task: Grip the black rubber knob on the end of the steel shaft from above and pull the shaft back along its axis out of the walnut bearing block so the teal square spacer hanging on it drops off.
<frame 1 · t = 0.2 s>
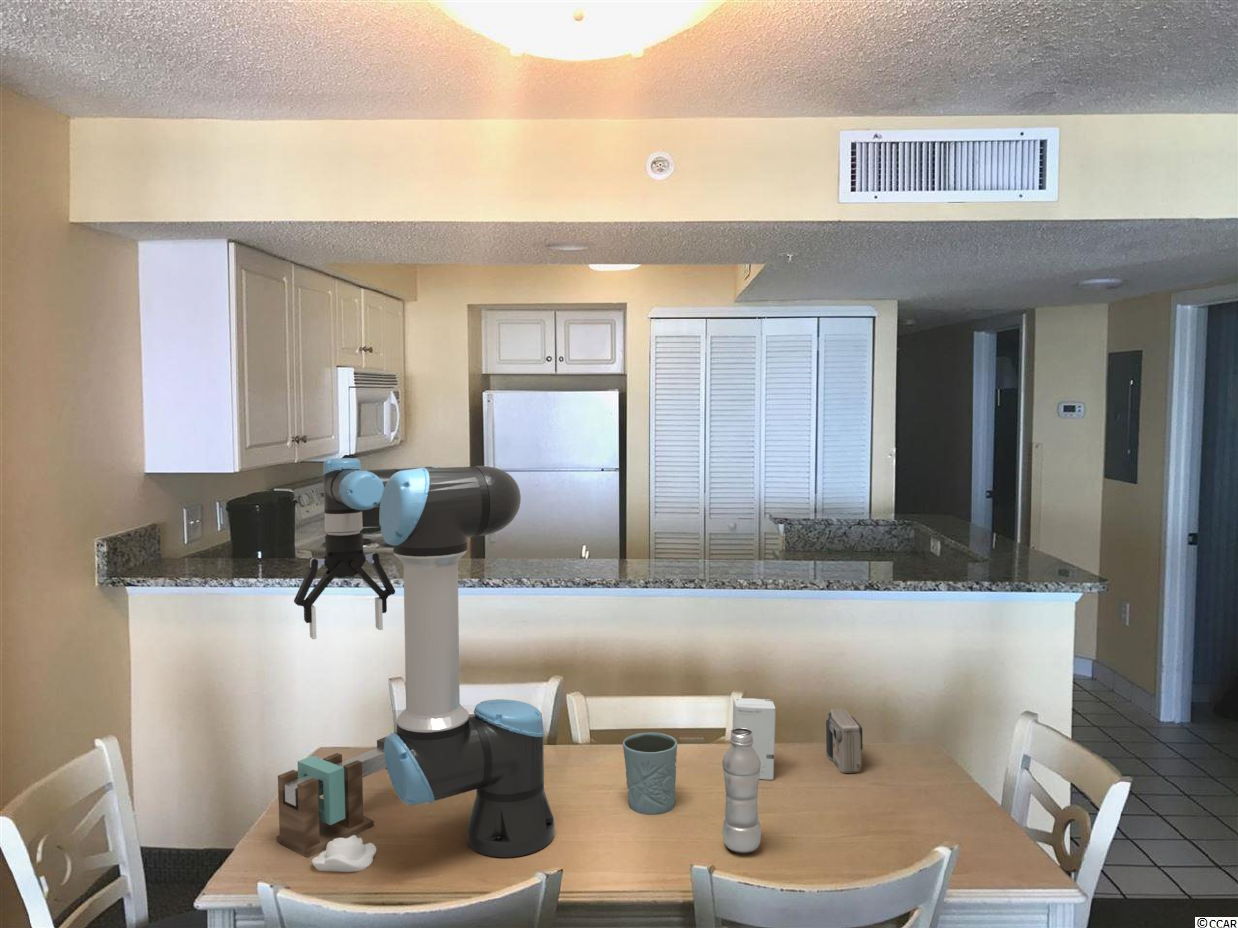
hand: (346, 633, 182), 28 cm above the table, tool pointing down, fingers open, 13 cm apart
shaft: (352, 769, 156), point 10 cm above the table, slide at 0.0 cm, touching spacer
spacer: (322, 814, 151), point 4 cm above the table, touching shaft
white cowboy hat: (344, 864, 143), on the table
bearing block: (322, 835, 151), on the table
plastic bottle: (741, 849, 146), on the table
drinking glass: (650, 805, 162), on the table
camera: (844, 764, 180), on the table
skincare box: (753, 774, 176), on the table
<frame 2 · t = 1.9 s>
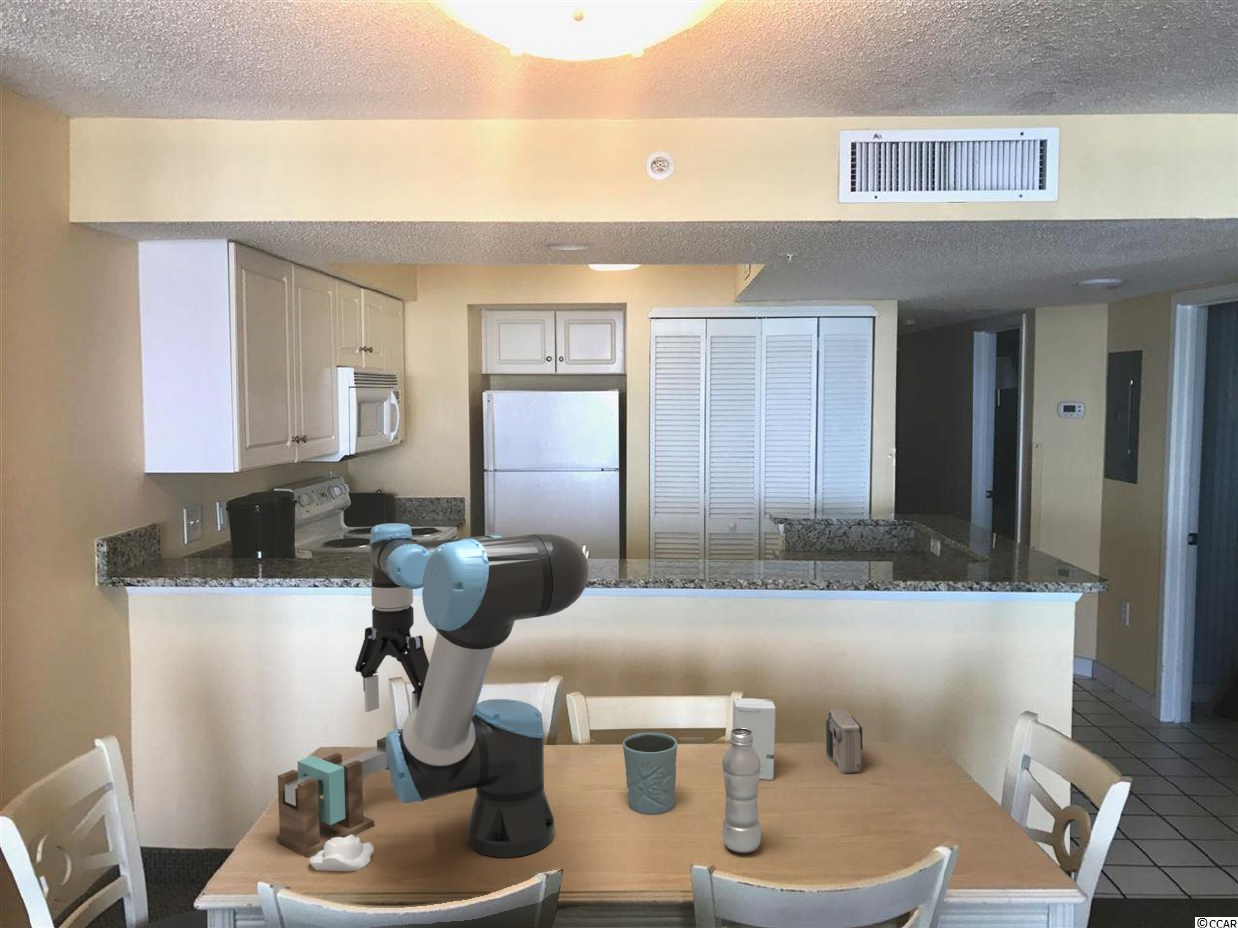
hand: (395, 717, 164), 16 cm above the table, tool pointing down, fingers open, 13 cm apart
nothing on the table moved.
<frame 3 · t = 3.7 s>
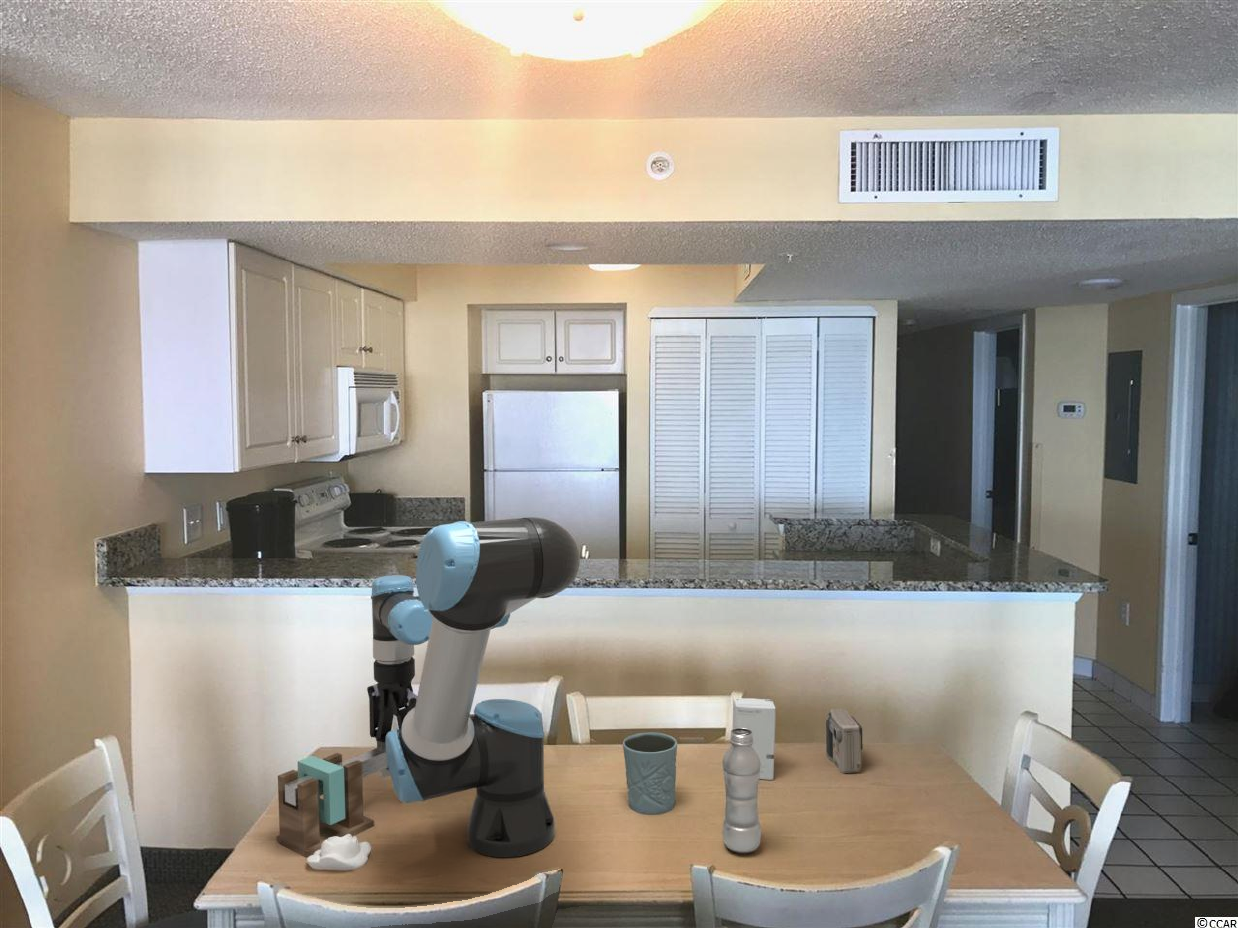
hand: (397, 778, 164), 4 cm above the table, tool pointing down, fingers closed on shaft, 5 cm apart
shaft: (352, 769, 156), point 10 cm above the table, slide at 0.0 cm, touching gripper, spacer
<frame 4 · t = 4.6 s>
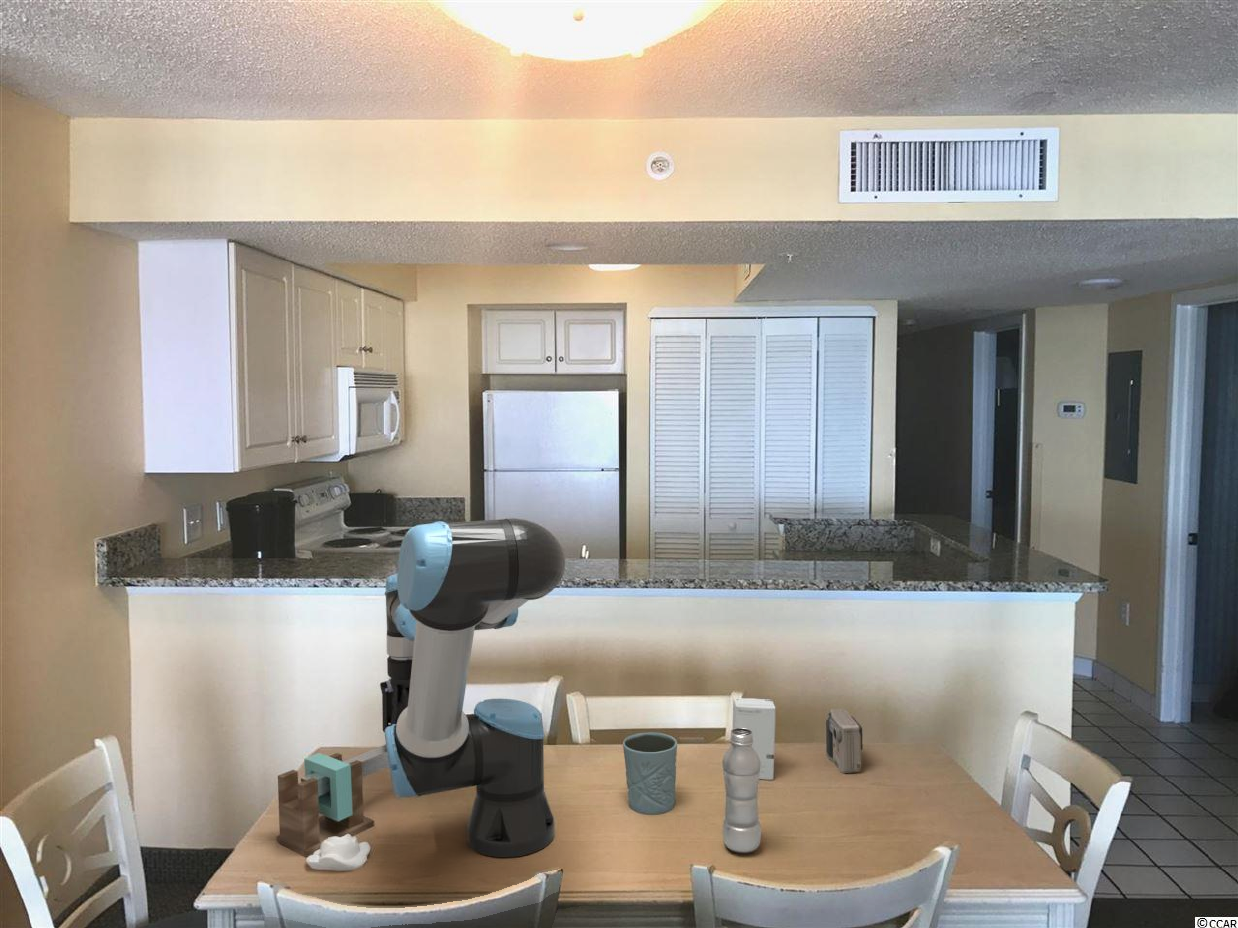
hand: (409, 773, 167), 4 cm above the table, tool pointing down, fingers closed on shaft, 5 cm apart
shaft: (366, 764, 159), point 9 cm above the table, slide at 3.1 cm, touching gripper
spacer: (329, 811, 152), point 4 cm above the table, touching bearing block
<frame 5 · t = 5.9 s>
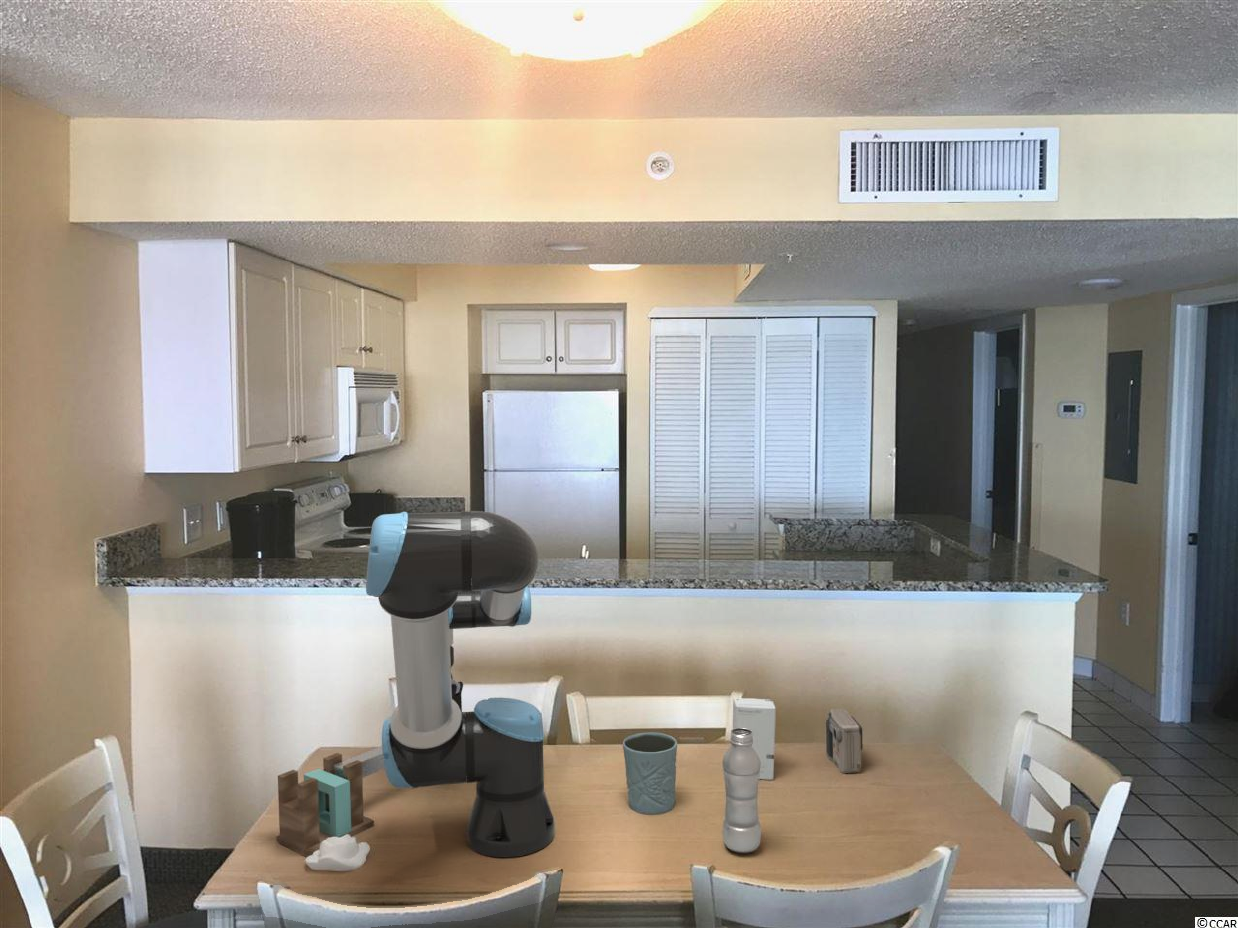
hand: (436, 761, 172), 4 cm above the table, tool pointing down, fingers closed on shaft, 5 cm apart
shaft: (395, 752, 164), point 10 cm above the table, slide at 9.8 cm, touching gripper
spacer: (328, 827, 152), point 1 cm above the table, touching bearing block
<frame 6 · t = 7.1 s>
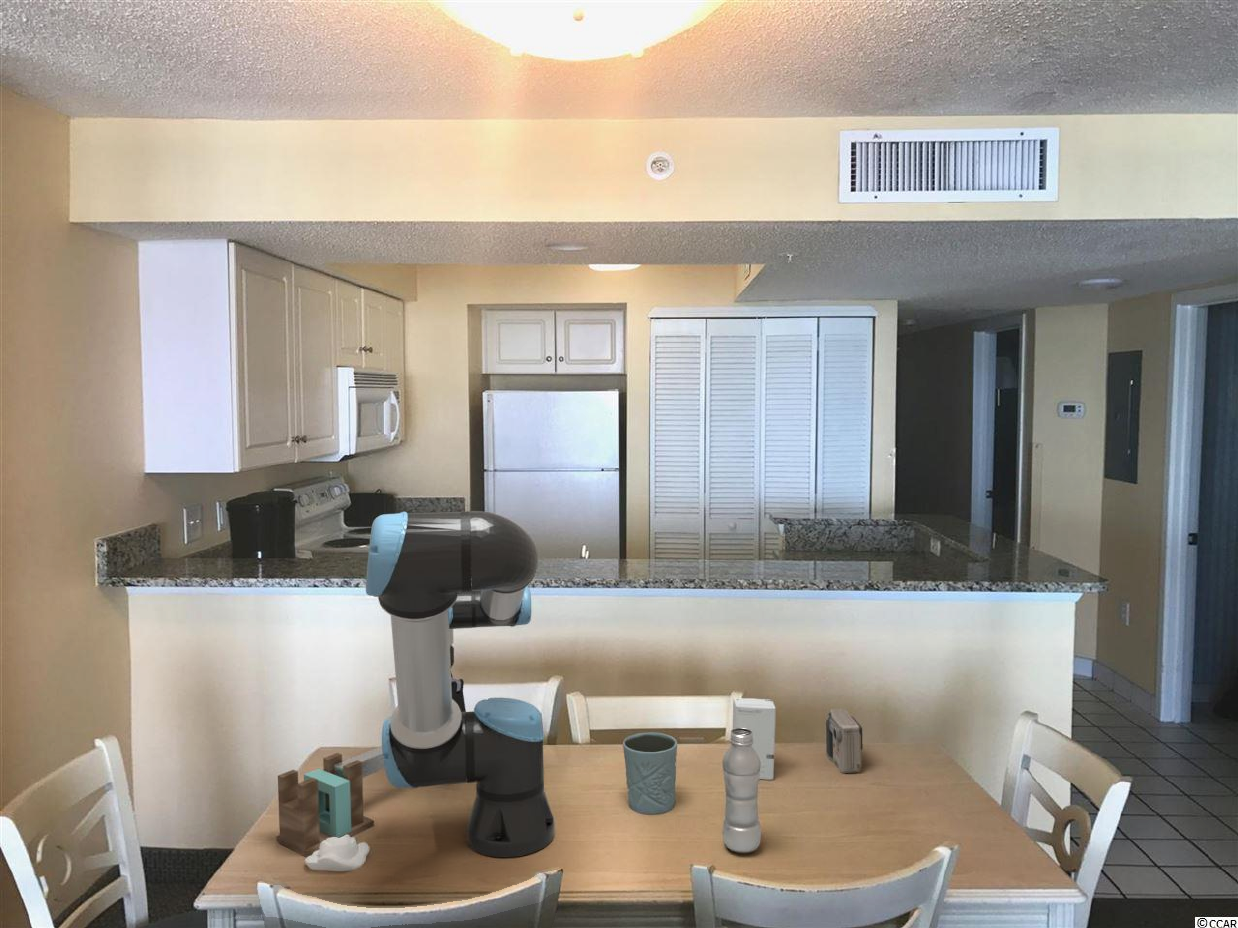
hand: (436, 758, 173), 5 cm above the table, tool pointing down, fingers open, 8 cm apart
shaft: (395, 752, 164), point 9 cm above the table, slide at 9.8 cm
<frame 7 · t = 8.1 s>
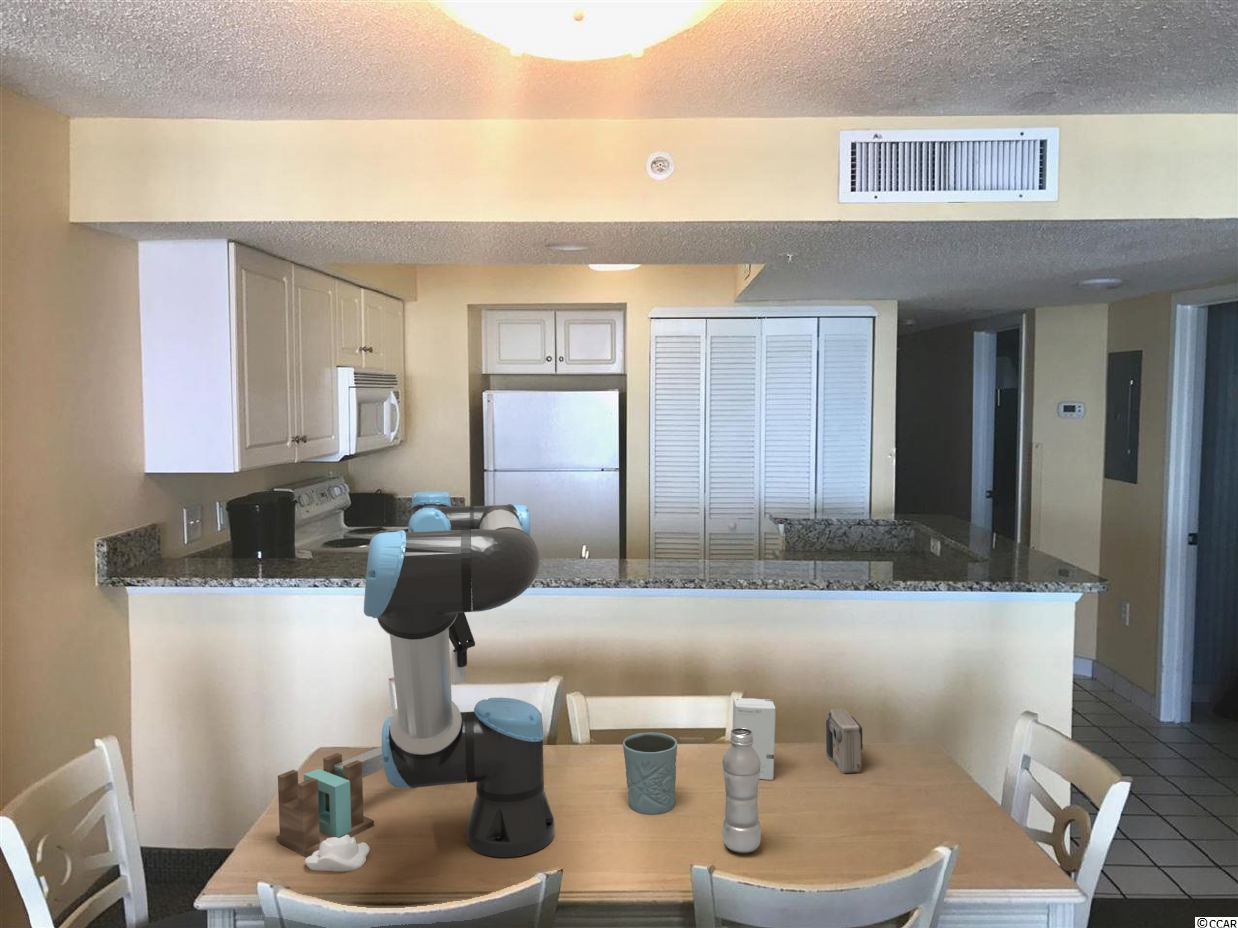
hand: (435, 677, 171), 21 cm above the table, tool pointing down, fingers open, 13 cm apart
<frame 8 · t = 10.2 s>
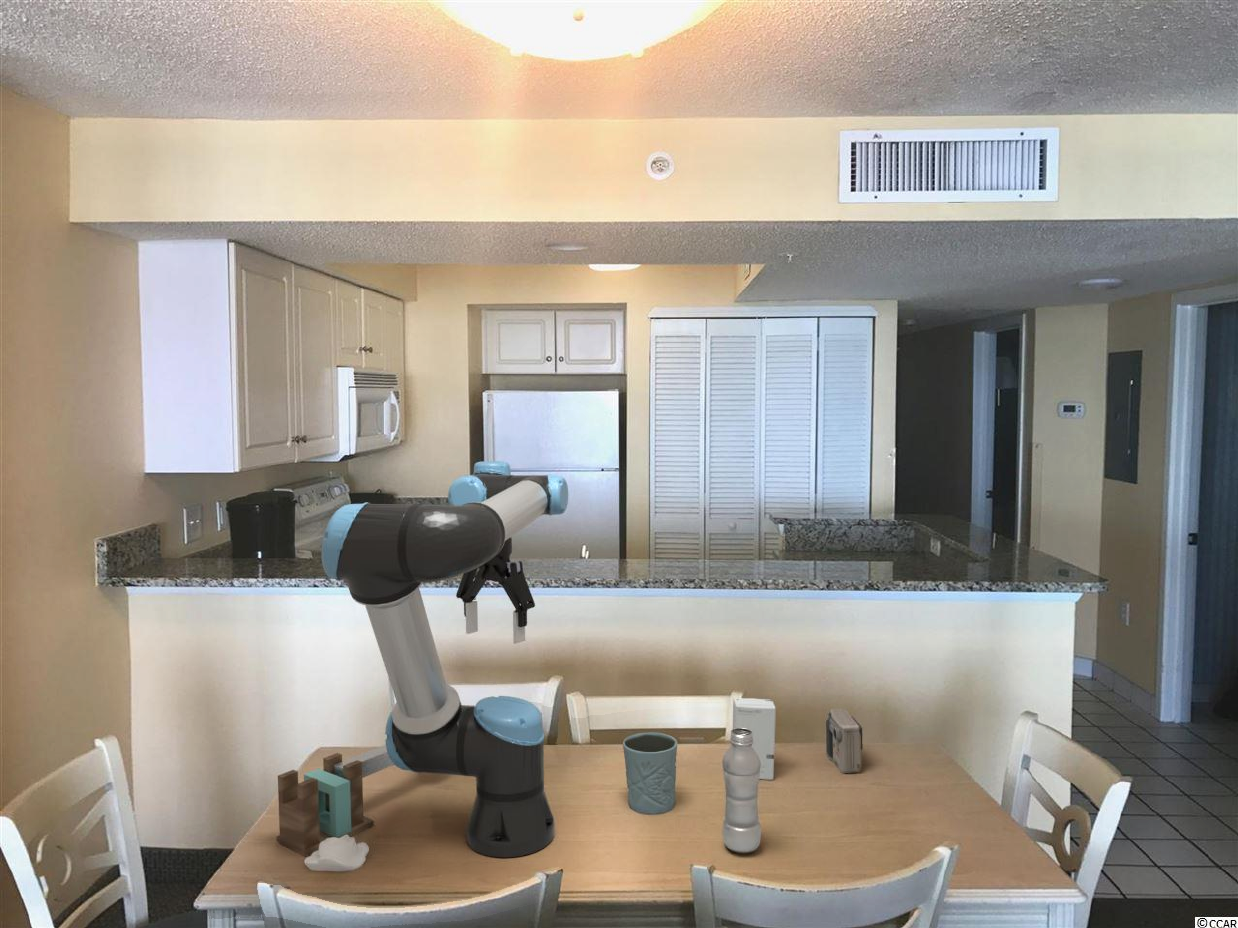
hand: (495, 637, 181), 27 cm above the table, tool pointing down, fingers open, 13 cm apart
at the end: shaft slide at 9.8 cm; spacer touching bearing block; spacer moved 3.1 cm from its start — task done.
